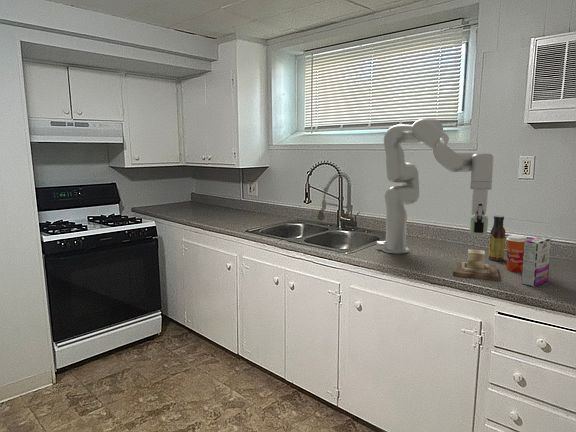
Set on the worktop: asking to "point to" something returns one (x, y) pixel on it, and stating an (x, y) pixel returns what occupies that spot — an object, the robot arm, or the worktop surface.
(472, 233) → the sage block
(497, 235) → the sauce bottle
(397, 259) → the worktop surface
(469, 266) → the maple block
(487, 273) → the base plate
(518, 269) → the paper cup
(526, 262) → the candy bar box
